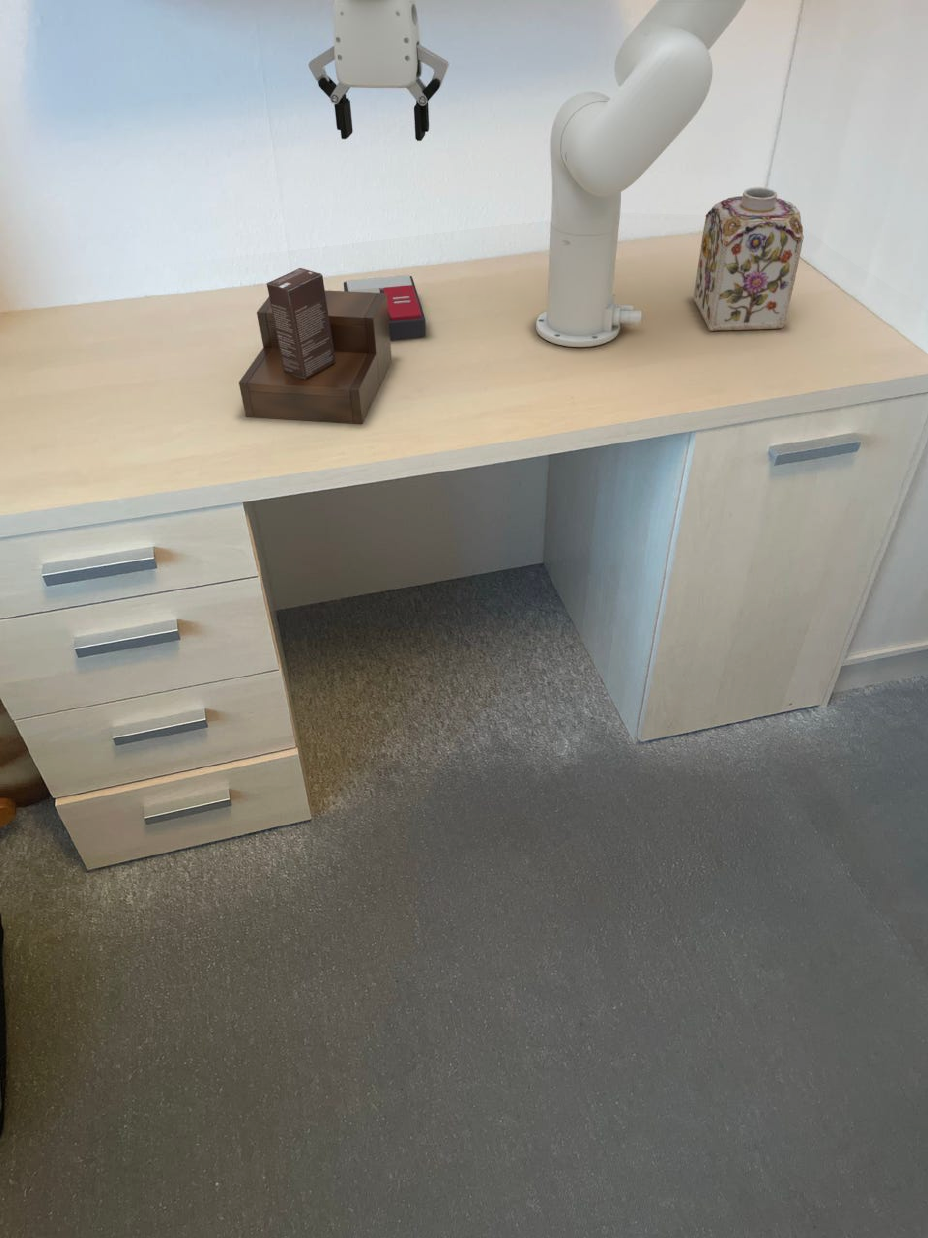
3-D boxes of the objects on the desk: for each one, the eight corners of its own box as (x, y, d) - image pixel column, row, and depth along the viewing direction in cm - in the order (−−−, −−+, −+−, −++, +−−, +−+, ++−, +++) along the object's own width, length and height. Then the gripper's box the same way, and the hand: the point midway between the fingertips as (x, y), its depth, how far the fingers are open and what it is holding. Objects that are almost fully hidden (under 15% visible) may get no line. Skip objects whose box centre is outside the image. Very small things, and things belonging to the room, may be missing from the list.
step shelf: (391, 360, 132) (386, 292, 125) (362, 424, 119) (354, 352, 112) (286, 354, 134) (275, 287, 127) (245, 416, 121) (230, 346, 114)
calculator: (351, 321, 133) (342, 276, 143) (354, 348, 136) (345, 302, 146) (425, 314, 134) (411, 270, 145) (426, 341, 137) (412, 296, 148)
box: (312, 354, 123) (300, 265, 114) (336, 363, 121) (325, 273, 112) (280, 371, 119) (264, 281, 111) (304, 381, 117) (290, 290, 109)
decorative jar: (764, 297, 145) (789, 177, 133) (785, 329, 136) (814, 204, 124) (690, 299, 145) (708, 179, 132) (706, 332, 136) (727, 207, 124)
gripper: (451, -31, 106) (455, 130, 118) (308, -31, 108) (326, 127, 120) (439, -21, 101) (445, 147, 112) (289, -21, 103) (310, 144, 115)
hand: (383, 136), depth 116 cm, fingers open, 9 cm apart
